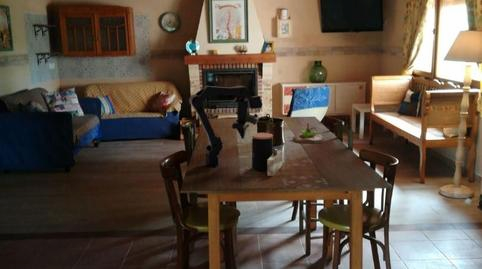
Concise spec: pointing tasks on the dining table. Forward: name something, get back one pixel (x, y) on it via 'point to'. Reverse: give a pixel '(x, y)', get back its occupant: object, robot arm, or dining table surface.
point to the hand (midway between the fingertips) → (242, 138)
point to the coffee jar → (261, 151)
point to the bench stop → (274, 162)
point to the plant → (308, 136)
